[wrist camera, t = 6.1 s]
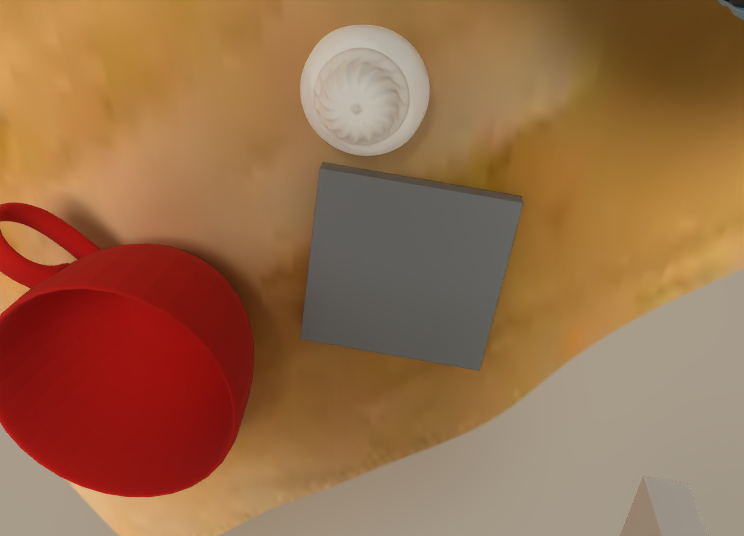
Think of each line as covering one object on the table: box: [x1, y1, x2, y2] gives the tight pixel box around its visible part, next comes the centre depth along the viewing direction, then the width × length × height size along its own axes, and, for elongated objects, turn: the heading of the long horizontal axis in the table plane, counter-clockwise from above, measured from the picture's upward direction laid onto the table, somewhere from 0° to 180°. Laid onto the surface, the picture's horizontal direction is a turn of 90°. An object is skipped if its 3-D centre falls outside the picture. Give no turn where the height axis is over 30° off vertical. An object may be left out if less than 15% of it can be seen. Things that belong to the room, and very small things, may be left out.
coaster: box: [300, 163, 523, 370], centre depth 40 cm, size 11×11×1 cm
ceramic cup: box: [0, 203, 254, 497], centre depth 38 cm, size 13×17×10 cm
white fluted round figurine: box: [300, 24, 430, 156], centre depth 33 cm, size 6×6×7 cm
